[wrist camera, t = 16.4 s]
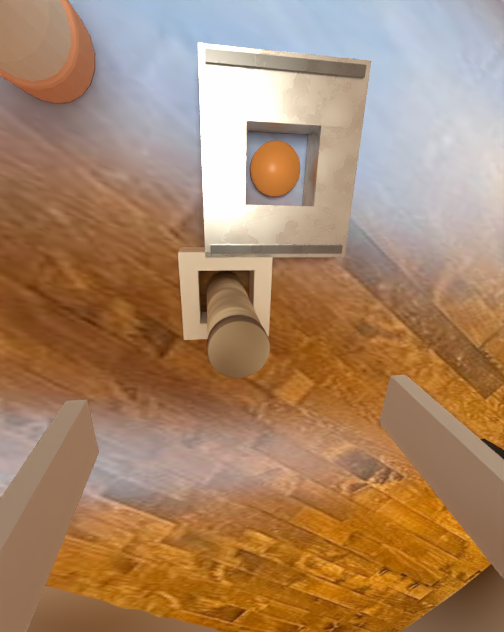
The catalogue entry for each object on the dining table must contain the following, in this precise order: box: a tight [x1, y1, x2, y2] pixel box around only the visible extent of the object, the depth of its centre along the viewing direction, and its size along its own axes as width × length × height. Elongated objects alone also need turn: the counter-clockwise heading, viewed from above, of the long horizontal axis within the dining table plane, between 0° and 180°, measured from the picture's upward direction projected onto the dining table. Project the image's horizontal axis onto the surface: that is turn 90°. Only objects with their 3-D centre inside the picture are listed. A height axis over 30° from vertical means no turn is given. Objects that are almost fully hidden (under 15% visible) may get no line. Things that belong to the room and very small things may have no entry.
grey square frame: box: [198, 43, 371, 258], centre depth 27 cm, size 14×16×4 cm
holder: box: [178, 247, 272, 340], centre depth 31 cm, size 9×9×4 cm
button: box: [250, 141, 300, 196], centre depth 28 cm, size 5×5×1 cm
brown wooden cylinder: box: [207, 271, 270, 378], centre depth 26 cm, size 4×4×15 cm
